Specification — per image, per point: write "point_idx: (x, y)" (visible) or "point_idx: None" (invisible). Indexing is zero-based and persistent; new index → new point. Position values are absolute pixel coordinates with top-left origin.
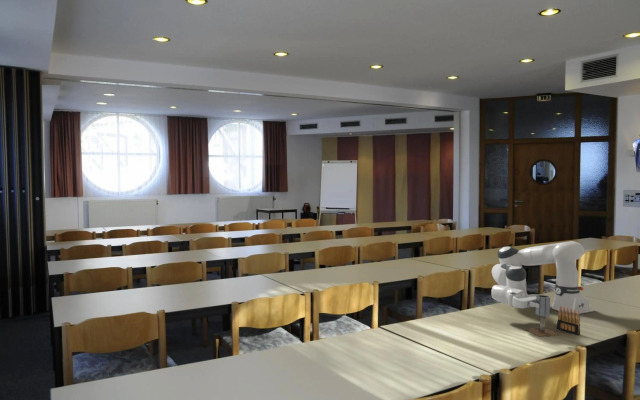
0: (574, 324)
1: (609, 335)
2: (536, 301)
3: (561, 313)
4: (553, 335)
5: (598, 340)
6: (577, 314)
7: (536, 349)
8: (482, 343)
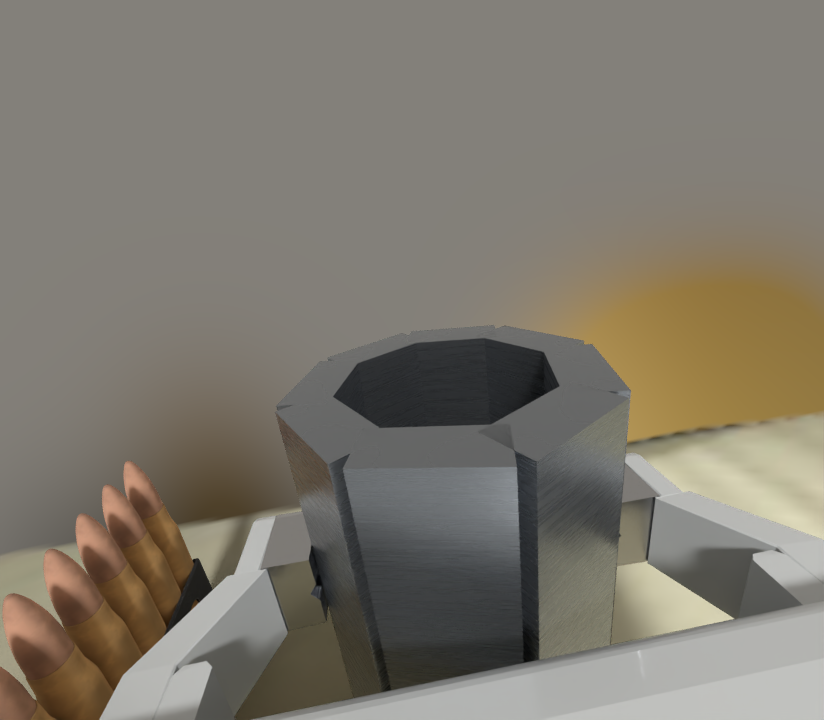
0: (189, 587)
1: (72, 558)
2: (617, 519)
3: (41, 711)
4: None
5: (242, 517)
6: (155, 494)
7: (754, 496)
8: None
